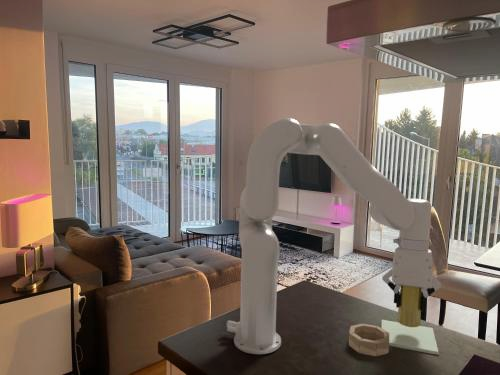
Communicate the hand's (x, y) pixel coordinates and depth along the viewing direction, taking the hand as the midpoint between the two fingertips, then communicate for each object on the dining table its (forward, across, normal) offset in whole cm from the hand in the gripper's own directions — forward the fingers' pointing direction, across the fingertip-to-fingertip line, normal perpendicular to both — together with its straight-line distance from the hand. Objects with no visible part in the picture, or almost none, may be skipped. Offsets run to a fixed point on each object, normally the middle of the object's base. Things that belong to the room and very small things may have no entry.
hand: (409, 307), depth 104 cm
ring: (+9, -10, -9) cm, 16 cm away
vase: (+5, 0, 0) cm, 5 cm away
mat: (+9, 0, 0) cm, 9 cm away
